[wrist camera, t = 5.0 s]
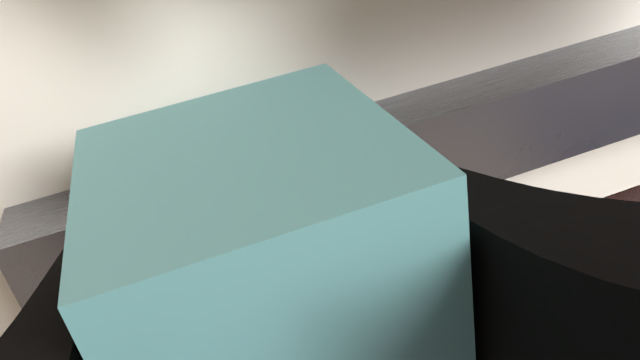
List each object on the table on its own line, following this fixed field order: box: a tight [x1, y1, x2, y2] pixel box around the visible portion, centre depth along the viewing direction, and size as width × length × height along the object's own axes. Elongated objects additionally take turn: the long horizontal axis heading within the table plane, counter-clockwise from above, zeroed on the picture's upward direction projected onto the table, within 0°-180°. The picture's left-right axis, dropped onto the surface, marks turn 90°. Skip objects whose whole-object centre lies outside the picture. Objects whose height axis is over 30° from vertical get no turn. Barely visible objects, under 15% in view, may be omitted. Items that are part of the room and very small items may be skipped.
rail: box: [0, 25, 640, 309], centre depth 12 cm, size 16×2×2 cm, turn 100°
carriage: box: [57, 63, 476, 360], centre depth 9 cm, size 4×5×5 cm
